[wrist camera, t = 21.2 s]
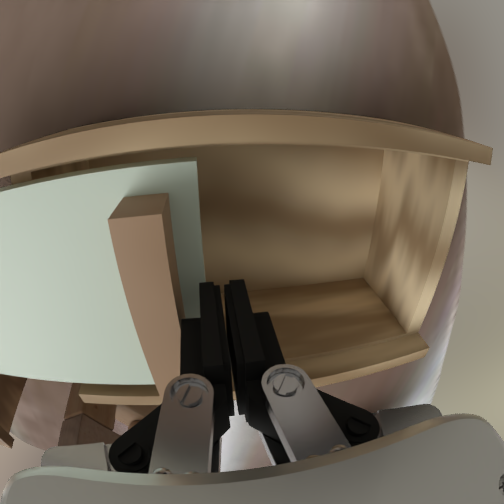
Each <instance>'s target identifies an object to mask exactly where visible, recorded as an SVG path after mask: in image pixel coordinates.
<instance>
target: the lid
mask: <svg viewBox="0 0 504 504" xmlns="http://www.w3.org/2000/svg"><path fill="white" fill-rule="evenodd" d="M200 282H206V279H205V269H204V257H203V246H202V233H201V220H200V206H199V190H198V172H197V157H183V158H172V159H161V160H152V161H143V162H134V163H126V164H119V165H112V166H105V167H99V168H92V169H86V170H80V171H75V172H69V173H64V174H59V175H54V176H49V177H44V178H40V179H35V180H31V181H26V182H22V183H18V184H14V185H10V186H6V187H2V188H0V374H5V375H11V376H18V377H25V378H32V379H41V380H50V381H61V382H73V383H90V384H121V385H145V384H155V385H156V387H157V390H158V392H159V395H160V397H161V400H162V401H163V396H164V391H165V389H166V386H167V384H168V383H169V382H170V381H171V380H172V379H174V378H175V377H177V376H180V340H181V319H186V318H200V298H199V283H200Z"/></svg>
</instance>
